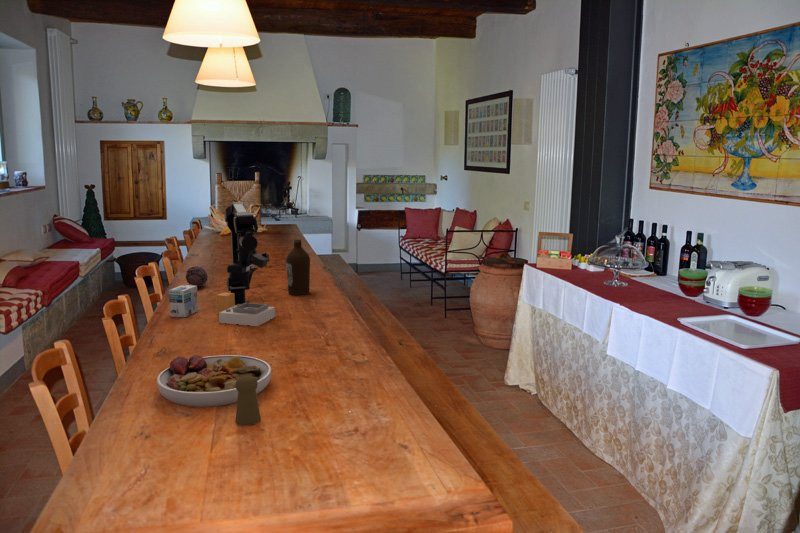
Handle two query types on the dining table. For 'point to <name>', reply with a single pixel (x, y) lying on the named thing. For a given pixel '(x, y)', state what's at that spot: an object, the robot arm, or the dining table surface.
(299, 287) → the olive oil
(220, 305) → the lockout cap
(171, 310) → the light bulb box
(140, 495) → the dining table surface
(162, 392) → the bowl
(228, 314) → the white recessed base box
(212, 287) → the dining table surface
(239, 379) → the salt shaker
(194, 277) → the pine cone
